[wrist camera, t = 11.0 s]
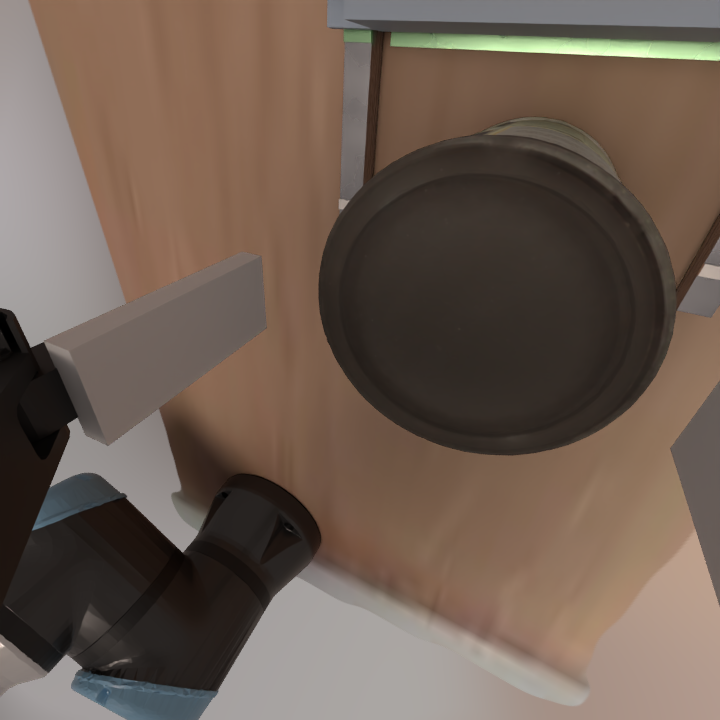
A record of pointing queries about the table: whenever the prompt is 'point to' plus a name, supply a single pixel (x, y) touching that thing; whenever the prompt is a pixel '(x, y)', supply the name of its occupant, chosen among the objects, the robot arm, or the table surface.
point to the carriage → (535, 18)
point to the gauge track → (364, 51)
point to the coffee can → (499, 290)
